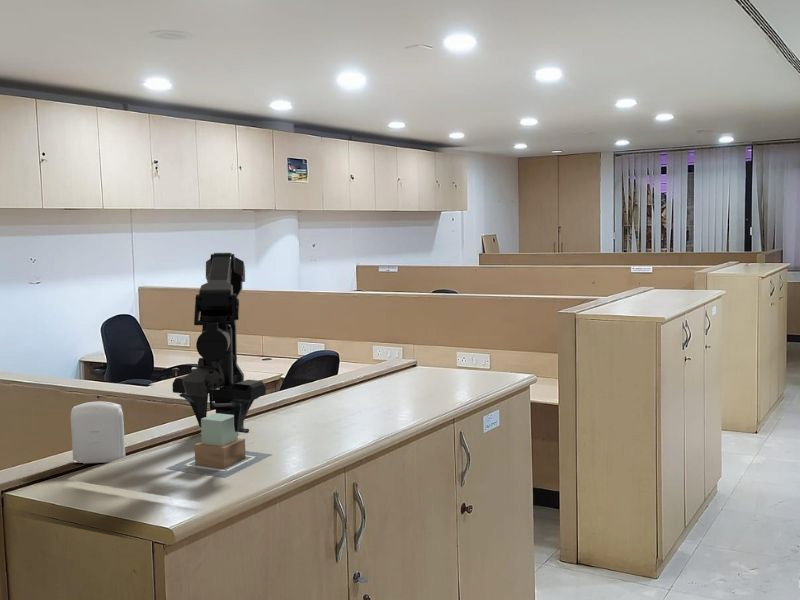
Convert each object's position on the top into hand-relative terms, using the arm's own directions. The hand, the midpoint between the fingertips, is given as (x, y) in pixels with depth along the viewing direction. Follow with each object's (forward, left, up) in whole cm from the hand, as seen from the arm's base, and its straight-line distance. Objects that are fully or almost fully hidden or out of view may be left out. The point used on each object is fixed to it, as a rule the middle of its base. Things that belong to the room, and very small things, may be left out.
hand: (219, 429), depth 154 cm
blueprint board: (0, 0, -8) cm, 8 cm away
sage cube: (0, 0, -2) cm, 3 cm away
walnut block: (0, 0, -6) cm, 6 cm away
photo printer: (+7, -25, -8) cm, 27 cm away
